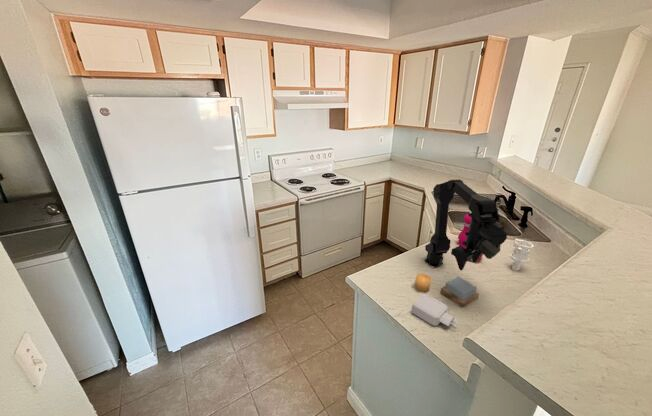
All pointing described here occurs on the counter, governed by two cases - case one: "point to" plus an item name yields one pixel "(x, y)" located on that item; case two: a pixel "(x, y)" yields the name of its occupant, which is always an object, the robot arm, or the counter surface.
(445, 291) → the tower base
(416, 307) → the charger
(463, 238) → the pepper mill
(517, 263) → the white tall piece
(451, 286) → the block
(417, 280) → the orange cylinder
